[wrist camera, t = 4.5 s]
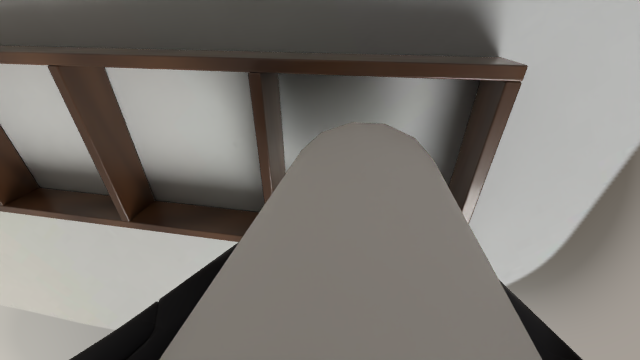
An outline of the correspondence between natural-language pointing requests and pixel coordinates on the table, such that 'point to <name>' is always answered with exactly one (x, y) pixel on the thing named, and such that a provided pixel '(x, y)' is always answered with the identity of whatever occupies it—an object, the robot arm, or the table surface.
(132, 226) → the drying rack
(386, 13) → the table surface
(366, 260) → the white coffee cup
